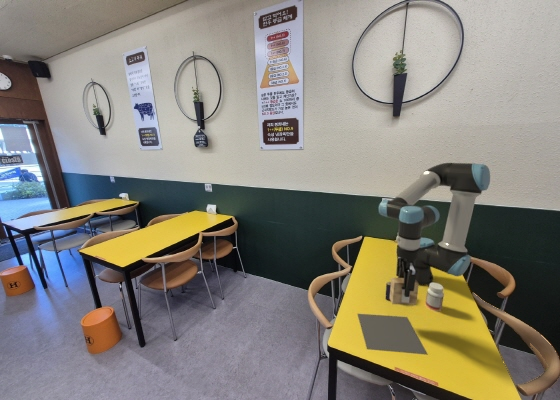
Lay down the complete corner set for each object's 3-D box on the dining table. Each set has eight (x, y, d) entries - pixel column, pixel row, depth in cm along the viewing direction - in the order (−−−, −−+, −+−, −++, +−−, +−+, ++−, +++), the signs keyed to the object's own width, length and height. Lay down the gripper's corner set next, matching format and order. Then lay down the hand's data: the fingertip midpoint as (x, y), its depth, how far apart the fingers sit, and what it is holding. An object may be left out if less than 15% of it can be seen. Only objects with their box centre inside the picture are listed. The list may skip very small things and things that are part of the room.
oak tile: (412, 299, 92) (414, 278, 90) (416, 305, 89) (418, 283, 86) (389, 298, 93) (391, 277, 91) (392, 304, 90) (394, 282, 88)
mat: (406, 317, 97) (407, 316, 97) (427, 355, 79) (427, 354, 79) (357, 314, 100) (357, 313, 100) (366, 349, 82) (367, 349, 82)
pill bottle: (432, 301, 106) (435, 280, 103) (444, 310, 100) (448, 288, 97) (422, 304, 105) (424, 283, 102) (433, 313, 99) (437, 291, 96)
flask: (396, 293, 112) (398, 274, 110) (402, 296, 110) (404, 277, 107) (383, 299, 109) (385, 279, 106) (388, 302, 106) (390, 283, 104)
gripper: (390, 237, 93) (386, 285, 99) (406, 256, 78) (401, 312, 83) (409, 237, 92) (404, 286, 98) (429, 257, 76) (422, 314, 82)
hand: (402, 298), depth 91 cm, fingers closed on oak tile, 4 cm apart
